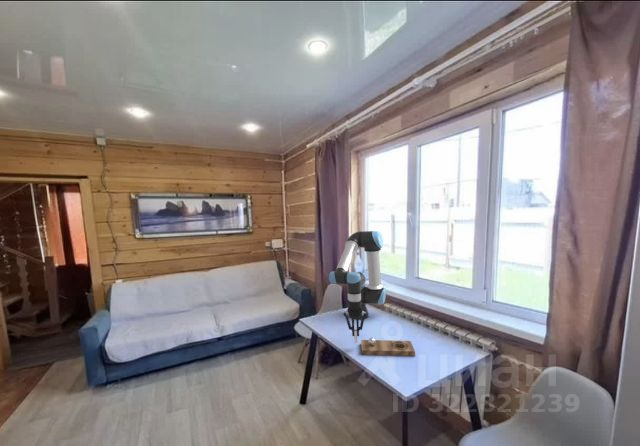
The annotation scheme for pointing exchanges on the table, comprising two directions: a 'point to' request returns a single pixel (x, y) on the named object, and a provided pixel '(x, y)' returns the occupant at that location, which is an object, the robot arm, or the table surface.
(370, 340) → the ball
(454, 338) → the table surface
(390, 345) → the board
